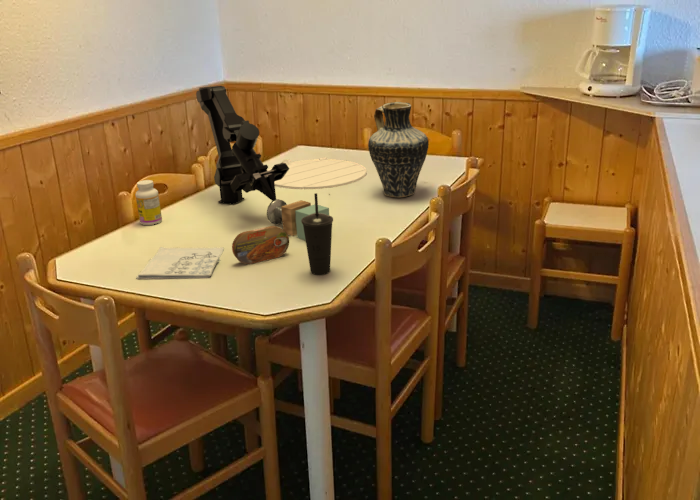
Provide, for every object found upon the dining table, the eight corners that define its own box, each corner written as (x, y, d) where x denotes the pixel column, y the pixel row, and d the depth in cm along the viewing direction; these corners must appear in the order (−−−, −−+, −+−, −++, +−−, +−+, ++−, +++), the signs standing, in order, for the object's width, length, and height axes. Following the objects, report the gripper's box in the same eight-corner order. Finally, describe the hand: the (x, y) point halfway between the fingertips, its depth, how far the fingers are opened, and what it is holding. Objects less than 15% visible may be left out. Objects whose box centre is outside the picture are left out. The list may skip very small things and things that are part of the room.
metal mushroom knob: (267, 226, 194) (265, 202, 191) (286, 220, 199) (285, 196, 196) (291, 234, 187) (289, 209, 184) (310, 227, 192) (309, 203, 189)
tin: (236, 267, 167) (232, 236, 164) (232, 263, 170) (228, 232, 167) (290, 255, 174) (288, 225, 170) (286, 251, 176) (284, 221, 173)
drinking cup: (304, 266, 166) (299, 190, 159) (334, 264, 167) (331, 188, 159) (305, 278, 159) (299, 199, 152) (336, 276, 160) (332, 197, 152)
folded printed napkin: (135, 281, 163) (133, 273, 162) (161, 250, 181) (159, 243, 180) (211, 280, 161) (210, 272, 161) (229, 249, 180) (228, 242, 179)
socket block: (297, 237, 185) (295, 210, 182) (316, 230, 190) (315, 204, 187) (310, 242, 182) (308, 214, 179) (330, 234, 187) (328, 207, 184)
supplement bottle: (139, 220, 204) (132, 180, 199) (161, 217, 206) (155, 177, 201) (140, 227, 198) (134, 186, 193) (163, 224, 200) (157, 183, 195)
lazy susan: (240, 176, 250) (239, 167, 249) (319, 156, 274) (319, 148, 273) (306, 197, 222) (306, 187, 221) (388, 173, 246) (388, 164, 245)
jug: (440, 193, 219) (441, 102, 208) (401, 207, 207) (400, 111, 196) (393, 182, 233) (393, 96, 222) (355, 195, 221) (352, 105, 210)
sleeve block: (283, 233, 189) (281, 206, 186) (303, 226, 194) (301, 200, 191) (292, 236, 187) (290, 209, 184) (312, 228, 192) (310, 202, 189)
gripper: (262, 167, 209) (287, 207, 205) (213, 180, 196) (239, 222, 193) (276, 146, 201) (302, 187, 197) (226, 158, 188) (253, 202, 185)
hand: (274, 200), depth 193 cm, fingers closed
